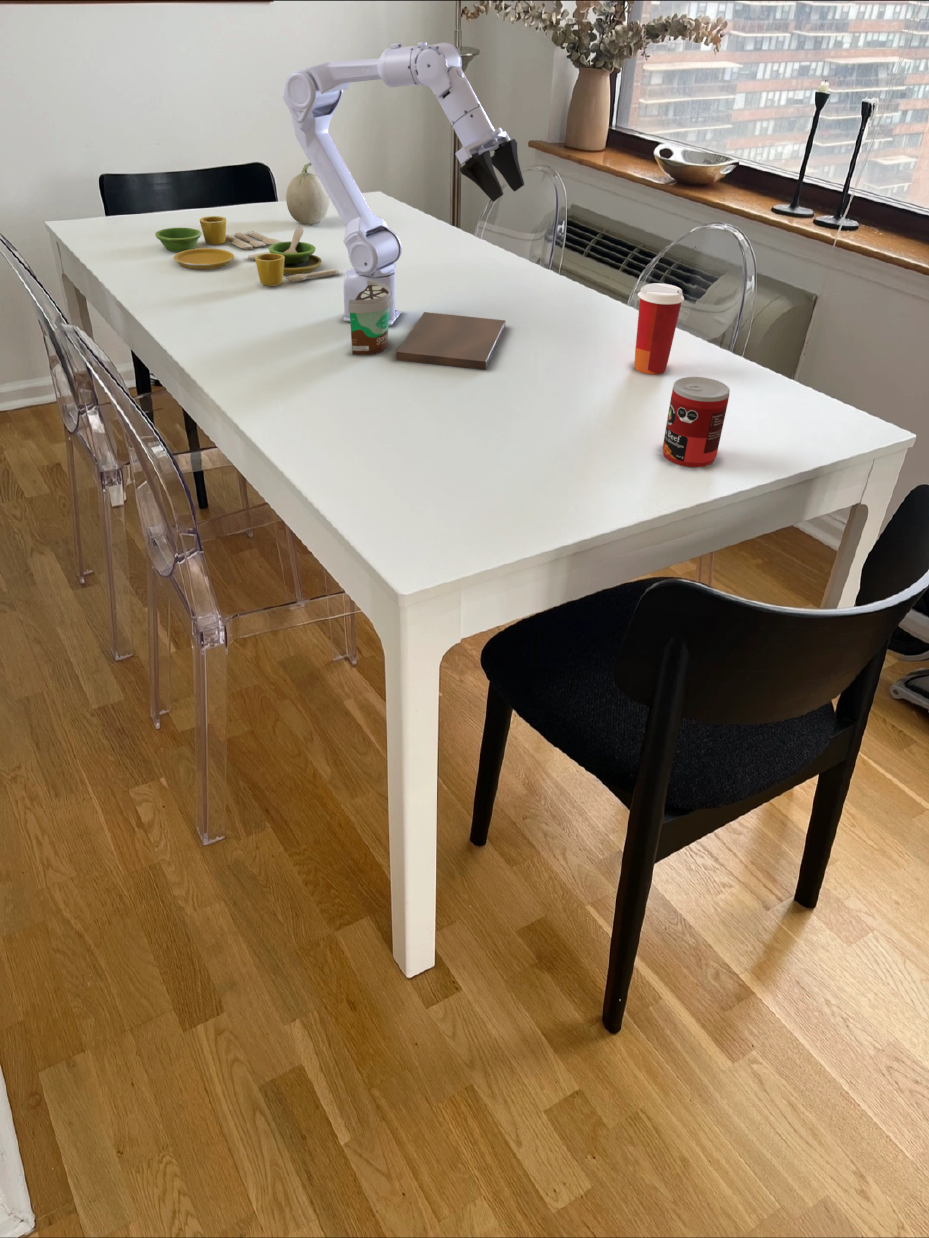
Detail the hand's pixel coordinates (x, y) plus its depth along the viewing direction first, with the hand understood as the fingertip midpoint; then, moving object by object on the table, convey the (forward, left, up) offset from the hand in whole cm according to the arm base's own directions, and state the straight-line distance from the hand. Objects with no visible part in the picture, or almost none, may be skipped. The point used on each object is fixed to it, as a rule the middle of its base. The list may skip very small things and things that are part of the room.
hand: (509, 193), depth 165 cm
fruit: (-59, +69, -27) cm, 95 cm away
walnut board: (-8, -2, -26) cm, 28 cm away
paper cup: (+28, -4, -27) cm, 38 cm away
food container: (-21, -8, -27) cm, 35 cm away
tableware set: (-63, +34, -26) cm, 77 cm away
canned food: (+35, -38, -27) cm, 57 cm away
